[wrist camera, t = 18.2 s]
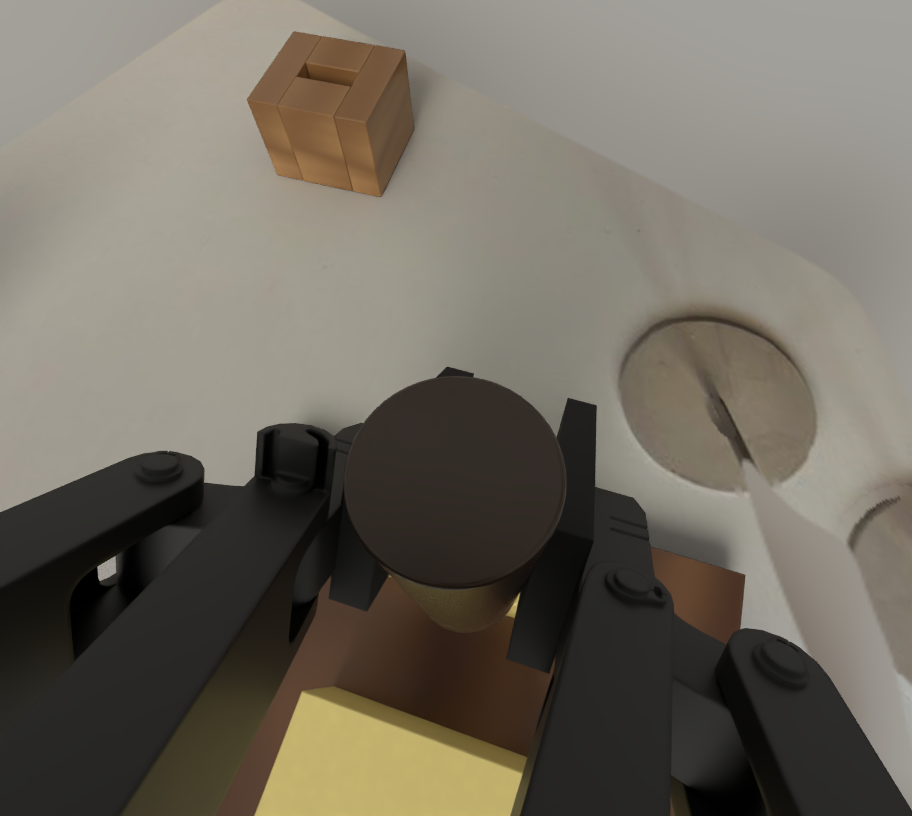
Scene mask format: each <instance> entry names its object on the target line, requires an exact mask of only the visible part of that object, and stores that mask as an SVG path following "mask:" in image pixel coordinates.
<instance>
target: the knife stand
mask: <svg viewBox="0 0 912 816" xmlns="http://www.w3.org/2000/svg"><path fill="white" fill-rule="evenodd" d="M247 101H248V104H249V106H250V109H251V111H252V114H253V116H254V119H255V121H256V124H257V126H258V128H259V131H260V133H261V136H262V138H263V141H264V143H265V146H266V148H267V151H268V153H269V156H270V158H271V161H272V163H273V165H274V168H275V170H276V173H277V175H280V176H285V177H290V178H294V179H299V180H304V181H307V182H312V183H317V184H321V185H326V186H331V187H335V188H340V189H345V190H349V191H355V192H360V193H365V194H369V195H374V196H378V197H381V196H382V194H383V192H384V190H385V188H386V186H387V184H388V181H389V179H390V177H391V175H392V173H393V171H394V169H395V167H396V165H397V163H398V161H399V159H400V157H401V155H402V153H403V151H404V149H405V147H406V145H407V143H408V141H409V139H410V137H411V135H412V133H413V131H414V123H413V114H412V106H411V97H410V88H409V80H408V71H407V63H406V54H405V51H404V50H400V49H394V48H388V47H382V46H375V45H371V44H365V43H360V42H354V41H348V40H342V39H336V38H330V37H324V36H323V37H322V36H318V35H312V34H306V33H300V32H293V33H292V34H291V36H290V37H289V39H288V40H287V42H286V43H285V45H284V46H283V48H282V49H281V50H280V52H279V53H278V55H277V56H276V58H275V59H274V61H273V62H272V64H271V65H270V66H269V68H268V69H267V71H266V72H265V74H264V75H263V77H262V78H261V80H260V81H259V82H258V84H257V85H256V87H255V88H254V90H253V91H252V93H251V94H250V96H249V97H248V98H247Z"/></svg>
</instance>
